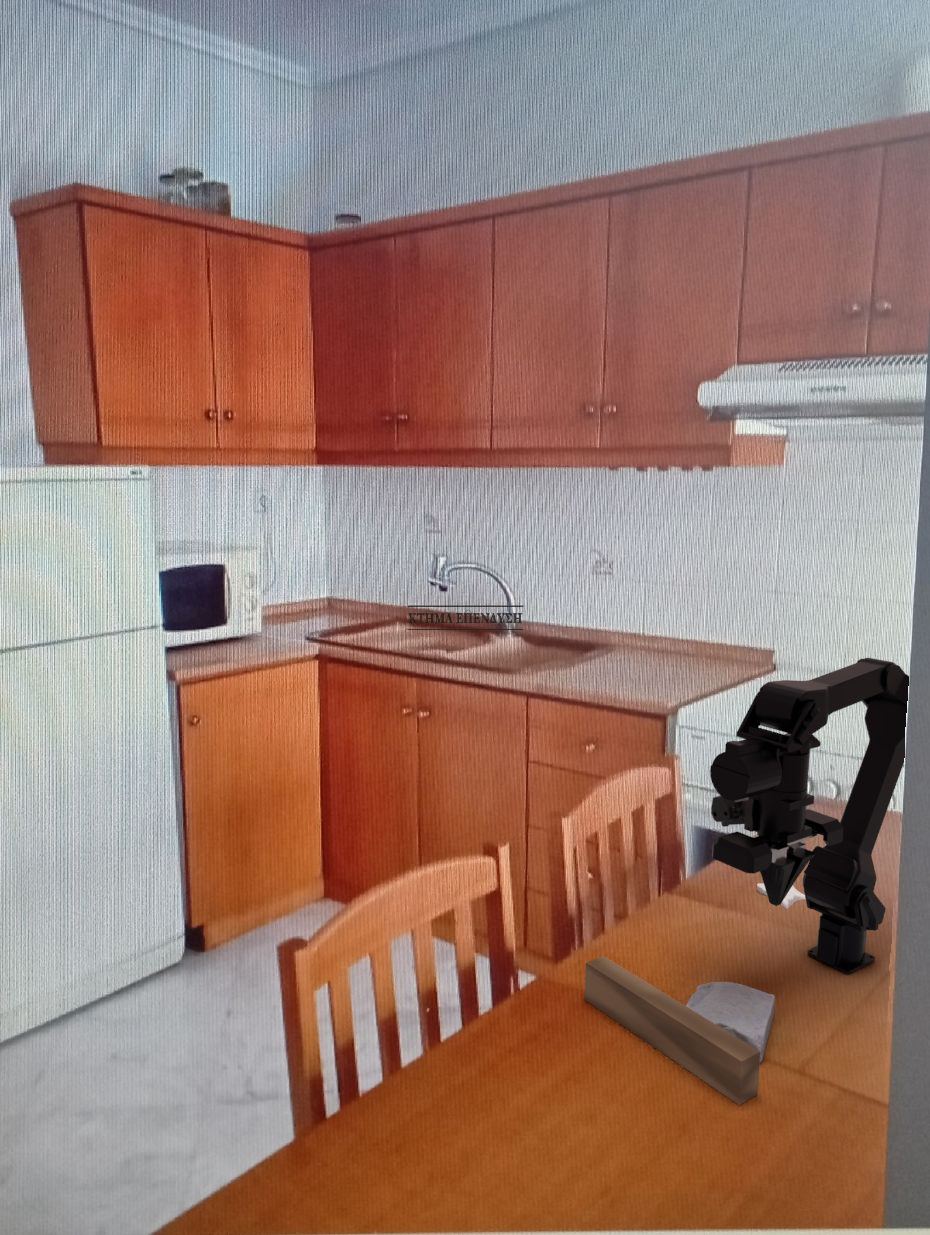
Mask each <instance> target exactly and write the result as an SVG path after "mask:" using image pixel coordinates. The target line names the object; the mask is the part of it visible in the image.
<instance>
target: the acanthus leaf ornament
mask: <svg viewBox="0 0 930 1235" xmlns="http://www.w3.org/2000/svg"><path fill="white" fill-rule="evenodd" d="M756 888H757V890H758V893H759V894H761V895H764V896H767V892H766V889H765V886H764V882H763V883H761V882H760V883H759V882H758V883H757V885H756ZM799 900H801V901H802V900H806V898H805V893H802V892H800V891H799V889H796V887H795V886H794V884H793V885H792V887H791V889H790V890H789V892H788V893H787V895H786V896H785V898H784V900H783V901H782V903H781V904H780V905H781V906H782V907H783V908H784V909H786V910H789V908H790V907H792V906H793V905H795V902H796V901H799Z"/></svg>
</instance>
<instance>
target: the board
mask: <svg viewBox="0 0 930 1235" xmlns="http://www.w3.org/2000/svg"><path fill="white" fill-rule="evenodd" d="M584 980H585V983H584V985H585V986H584V989H585V990H584V1001H586V1002H587V1003H589V1004H590V1005H592V1006H593V1007H595V1008H596V1009H597V1010H599V1011H601V1012H602V1013H603V1014H605V1015H606V1016H607V1017H609V1018H611V1019H612V1020H614V1021H615V1022H617V1023H618V1024H620V1026H623V1027H624V1028H625V1029H627V1030H628V1031H629V1032H630V1033H633V1034H635V1035H636V1036H637V1037H638V1038H640V1039H641V1040H643V1041H644V1042H646V1043H647V1044H649V1045H651V1046H652V1047H653V1048H655V1049H656V1050H658V1052H661V1053H663V1055H665V1056H666V1057H667V1058H670V1059H671V1060H673V1061H674V1062H676V1064H678V1065H680V1066H681V1067H683V1068H684V1069H686V1070H687V1071H688V1072H690V1073H691V1074H692V1075H693V1076H696V1077H697V1078H699V1079H700V1080H702V1081H703V1082H705V1083H706V1084H707V1085H709V1086H710V1087H712V1088H713V1089H715V1090H716V1091H717V1092H719V1093H720V1094H722V1095H723V1096H725V1097H727V1099H729V1100H731V1101H732V1102H734V1103H735V1104H737V1105H738V1106H740V1105H743V1104H744V1103H745V1102H746V1103H747V1101H749V1100H751V1099H752V1098H754V1097H756V1096H758V1094H759V1091H758V1090H759V1079H760V1078H759V1077H760V1064H761V1063H760V1051H758V1050H757V1049H755V1048H753V1047H752V1046H750V1045H748V1044H747V1043H745V1042H744V1041H742V1040H740V1039H739V1038H737V1037H735V1036H734V1035H732V1034H730V1033H729V1032H727V1031H726V1030H724V1029H722V1028H721V1027H719V1026H717V1025H716V1024H714V1023H712V1022H711V1021H709V1020H708V1019H706V1018H704V1017H703V1016H701V1015H699V1014H698V1013H696V1012H694V1011H693V1010H691V1009H690V1008H688V1007H686V1005H685V1004H683V1003H681V1002H680V1001H678V1000H676V999H675V998H673V997H671V996H670V995H668V994H667V993H665V992H663V991H662V990H661V989H658V988H657V987H655V986H653V985H652V984H650V983H649V982H647V981H645V980H644V979H642V978H641V977H639V976H637V975H635V974H634V973H632V972H630V971H629V970H628V969H626V968H624V967H622V965H619V964H618V963H616V962H614V961H613V960H611V959H609V958H608V957H606V956H605V955H603V956H600V957H597V958H595V959H592V960H589V961H587V962H585V978H584Z"/></svg>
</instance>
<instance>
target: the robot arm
mask: <svg viewBox="0 0 930 1235" xmlns="http://www.w3.org/2000/svg"><path fill="white" fill-rule="evenodd" d="M908 686H909V675H908V674H907V673H905V671H904V670H903V668H902V667H901V666H900V665H899V664H896V663H895V662H893V661H889V660H884V659H883V660H882V659H878V658H874V657H873V658H872V657H865V658H859V659H858V660H857V661H856V663H853V664H850V665H847V666H845V667H842V668H839V669H836V670H833V671H831V672H828V673H825V674H822V675H820V676H817V677H815V678H812V679H809V680H792V679H790V680H789V679H785V680H784V679H783V680H773V681H768V682H766V683H764V684H763V685H762V686H761V687H760V688H759V691H758V692H757V693H756V695H755V697H754V699H753V700H752V701H751V703H750V706H749V708H748V710H747V712H746V714H745V715H744V718H743V720H742V722H741V723H740V725H739V727H738V729H737V731H736V734H735V735H736V737H738V738H740V739H741V740H730V741H727V742H726V743H725V751H724V752H720V753H718V755H717V756H715V758H714V760H713V761H712V764H711V765H710V767H709V768H710V769H709V773H710V774H709V775H710V779H711V783H712V786H713V788H714V789H715V790H716V792H717V793H718V795H717V796H715V797H714V796H713V797H712V799H711V800H712V801H711V802H712V803H711V808H710V810H711V812H710V813H711V817H712V818H713V821H715V822H716V823H721V826H722V827H729V826H731V825H733V826H734V825H735V826H736V825H743V829H744V830H746V831H748V832H751V833H752V832H755V833H756V835H757V836H754V837H753V836H750V835H747V834H745V833H743V832H740V831H734V832H731V833H730V832H729V833H728V834H725V835H721V836H719V837H717V838H716V839H715V840H713V841H712V853H711V854H712V855H711V856H712V859H713V860H715V861H718V862H720V863H722V864H725V865H727V866H729V867H732V868H733V869H736V870H738V871H741V872H743V873H745V874H753V875H754V874H757V873H760V875H761V879H762V882H763V883H764V886H765V889H766V892H767V895H766V897H767V899H768V902H769V903H770V904H771V905H772V906H775V907H777V906H780V905H781V903H782V901H783V900H784V898H785V896H786V895H787V893H788V892H789V890H790V889H791V887H792V885H793V886H794V883H795V882H796V881H797V879H798V878H799V876H800V875H801V873H802V872H803V873H804V874H803V877H802V886H803V894H804V895H805V898H806V899H805V902H806V907H807V908H808V909H810V910H813V911H816V912H818V913H820V914H821V915H820V916H819V923H818V924H819V926H818V930H817V945H816V946H814V947H812V948H810V949H808V950H807V953H806V954H807V955H808V956H810V957H812V958H813V959H815V960H818V961H820V962H821V963H824V964H826V965H828V966H831V967H832V968H834V969H836V970H838V971H840V972H843V973H845V974H852V973H854V972H856V971H858V970H860V969H862V968H864V967H866V966H869V965H871V963H874V962H875V961H876V956H874V955H872V954H870V953H868V952H866V944H867V931H879V925H881V924H882V923H883V920H884V919H885V914H886V911H887V910H886V907H885V905H884V904H883V902H882V901H881V900H880V899H879V897H878V896H877V895H876V893H875V892H874V891H875V886H876V884H877V883H876V882H877V878H878V877H877V875H876V874H877V873H876V869H875V864H874V860H873V857H872V854H873V852H874V847H875V845H876V842H877V839H878V836H879V834H880V831H881V828H882V825H883V823H884V821H885V820H884V819H885V817H886V814H887V811H888V808H889V806H890V803H891V799H892V798H893V794H894V791H895V789H896V786H897V783H898V780H899V778H900V775H901V772H902V769H903V766H904V764H905V761H904V758H905V727H906V713H907V701H908ZM860 702H862V703H863V705H864V706H865V707H866V710H865V714H864V722H865V726H866V730H867V734H868V739H869V741H868V744H867V746H866V750H865V753H864V754H863V755H864V756H863V757H862V762H861V764H860V766H859V768H858V771H857V775H856V778H855V780H854V783H853V786H852V789H851V791H850V794H849V797H848V800H847V803H846V805H845V808H844V810H843V813H842V816H841V819H840V821H839V819H838V818H835V817H832V816H831V815H830V816H829V815H827V814H823V813H821V812H818V811H815V810H812V809H810V808H807V807H808V806H811V805H814V804H815V795H813V794H810V793H808V783H809V771H810V758H811V757H810V754H811V749H816V748H819V747H821V741H820V740H819V739H818V737H816V736H815V735H814V734H816V732H818V731H819V730H821V729H822V728H824V727H825V726H826V725H828V721H829V720H828V719H829V716H830V715H832V714H833V713H835V712H838V711H841V710H843V709H845V708H847V707H848V708H849V707H850V706H852V705H855V704H859V703H860ZM760 726H761V727H760ZM762 727H764V728H762ZM766 728H768V729H766ZM769 729H771V730H769ZM772 730H776V731H779V732H776V731H772ZM780 732H783V733H780ZM905 759H906V758H905ZM818 835H820V836H823V837H822V841H823V842H824V843H825V845H824V846H823V847H822V846H819V845H816V846H815V847H814V848H813V849H812V850H809V849H807V847H806V843H805V841H806V840H809V839H812V838H814V837H817V836H818ZM804 869H805V870H804Z"/></svg>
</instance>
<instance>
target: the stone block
mask: <svg viewBox="0 0 930 1235" xmlns="http://www.w3.org/2000/svg"><path fill="white" fill-rule="evenodd" d="M775 998H776V997H775V995H774V994H773V993H767V992H765V991H763V990H760V989H757V988H753V987H750V986H748V985H745V984H739V983H738V982H737V983H736V982H732V981H719V982H718V981H711V982H708V983H705V982H704V983H702V984H700V985H698V986H697V987H696V991H695V992H694V993H693V994H692V995H691V996H690V998H689V999H688V1001H687V1002H686V1005H685V1006H686V1007H688V1008H690V1009H691V1010H693V1011H694V1012H696V1013H698V1014H699V1015H701V1016H703V1017H704V1018H706V1019H708V1020H709V1021H711V1022H712V1023H714V1024H716V1025H717V1026H719V1027H721V1028H722V1029H724V1030H726V1031H727V1032H729V1033H730V1034H732V1035H734V1036H735V1037H737V1038H739V1039H740V1040H742V1041H744V1042H745V1043H747V1044H748V1045H750V1046H752V1047H753V1048H755V1049H757V1050H758V1051H760V1064H762V1061H763V1059H764V1055H765V1050H766V1046H767V1042H768V1038H769V1034H770V1030H771V1027H772V1021H773V1018H774V1015H775V1014H774V1013H775Z"/></svg>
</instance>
